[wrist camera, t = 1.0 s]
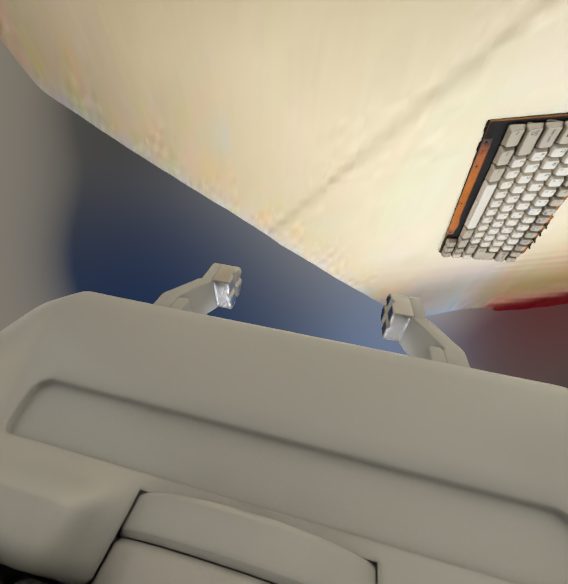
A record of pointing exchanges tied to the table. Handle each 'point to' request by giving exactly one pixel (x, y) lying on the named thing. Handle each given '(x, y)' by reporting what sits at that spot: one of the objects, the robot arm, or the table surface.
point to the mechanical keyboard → (510, 188)
